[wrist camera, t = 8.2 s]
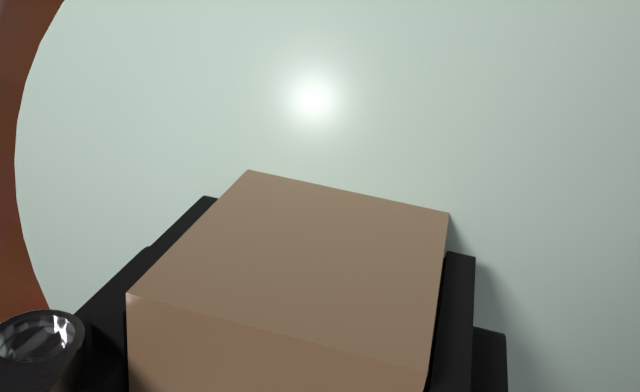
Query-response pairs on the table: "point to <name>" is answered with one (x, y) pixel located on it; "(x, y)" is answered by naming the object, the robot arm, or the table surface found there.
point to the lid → (341, 185)
